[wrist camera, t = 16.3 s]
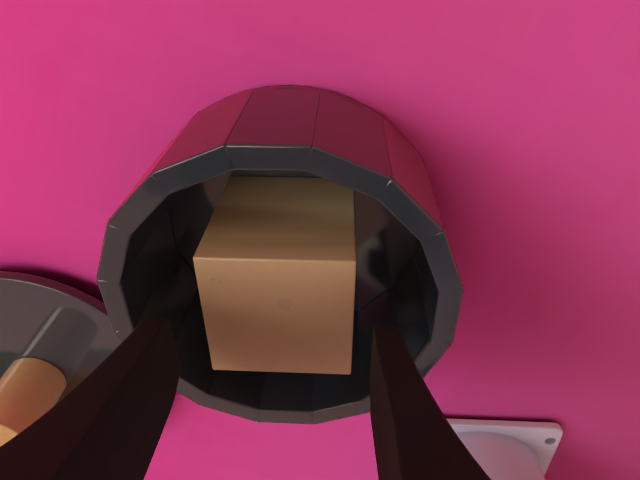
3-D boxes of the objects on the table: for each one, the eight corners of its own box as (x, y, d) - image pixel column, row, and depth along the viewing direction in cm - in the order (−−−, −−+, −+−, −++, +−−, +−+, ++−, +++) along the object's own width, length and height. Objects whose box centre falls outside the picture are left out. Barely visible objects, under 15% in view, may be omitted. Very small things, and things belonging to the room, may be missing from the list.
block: (350, 277, 19) (351, 375, 15) (240, 274, 20) (212, 370, 15) (354, 177, 17) (356, 261, 13) (229, 175, 17) (191, 257, 13)
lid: (187, 436, 27) (161, 522, 23) (-20, 428, 27) (-79, 510, 23) (144, 265, 20) (98, 344, 16) (-126, 257, 21) (-232, 333, 17)
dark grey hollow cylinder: (418, 329, 21) (435, 429, 17) (179, 322, 22) (140, 418, 18) (454, 86, 16) (493, 148, 11) (127, 82, 16) (50, 141, 12)
